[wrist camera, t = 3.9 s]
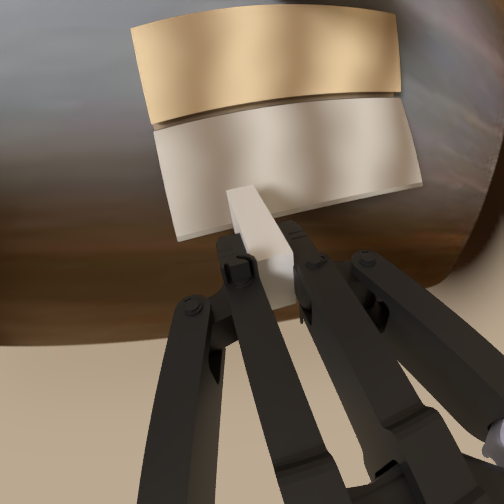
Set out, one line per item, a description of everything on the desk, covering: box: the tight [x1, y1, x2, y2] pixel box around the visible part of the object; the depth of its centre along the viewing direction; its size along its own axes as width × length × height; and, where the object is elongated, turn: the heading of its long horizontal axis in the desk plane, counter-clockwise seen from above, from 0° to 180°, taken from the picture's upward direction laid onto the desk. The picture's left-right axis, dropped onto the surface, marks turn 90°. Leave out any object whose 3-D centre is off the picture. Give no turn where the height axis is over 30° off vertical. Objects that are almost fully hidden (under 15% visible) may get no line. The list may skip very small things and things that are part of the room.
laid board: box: [131, 4, 401, 130], centre depth 16 cm, size 18×7×1 cm, turn 98°
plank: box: [154, 98, 423, 242], centre depth 19 cm, size 18×7×1 cm, turn 98°
